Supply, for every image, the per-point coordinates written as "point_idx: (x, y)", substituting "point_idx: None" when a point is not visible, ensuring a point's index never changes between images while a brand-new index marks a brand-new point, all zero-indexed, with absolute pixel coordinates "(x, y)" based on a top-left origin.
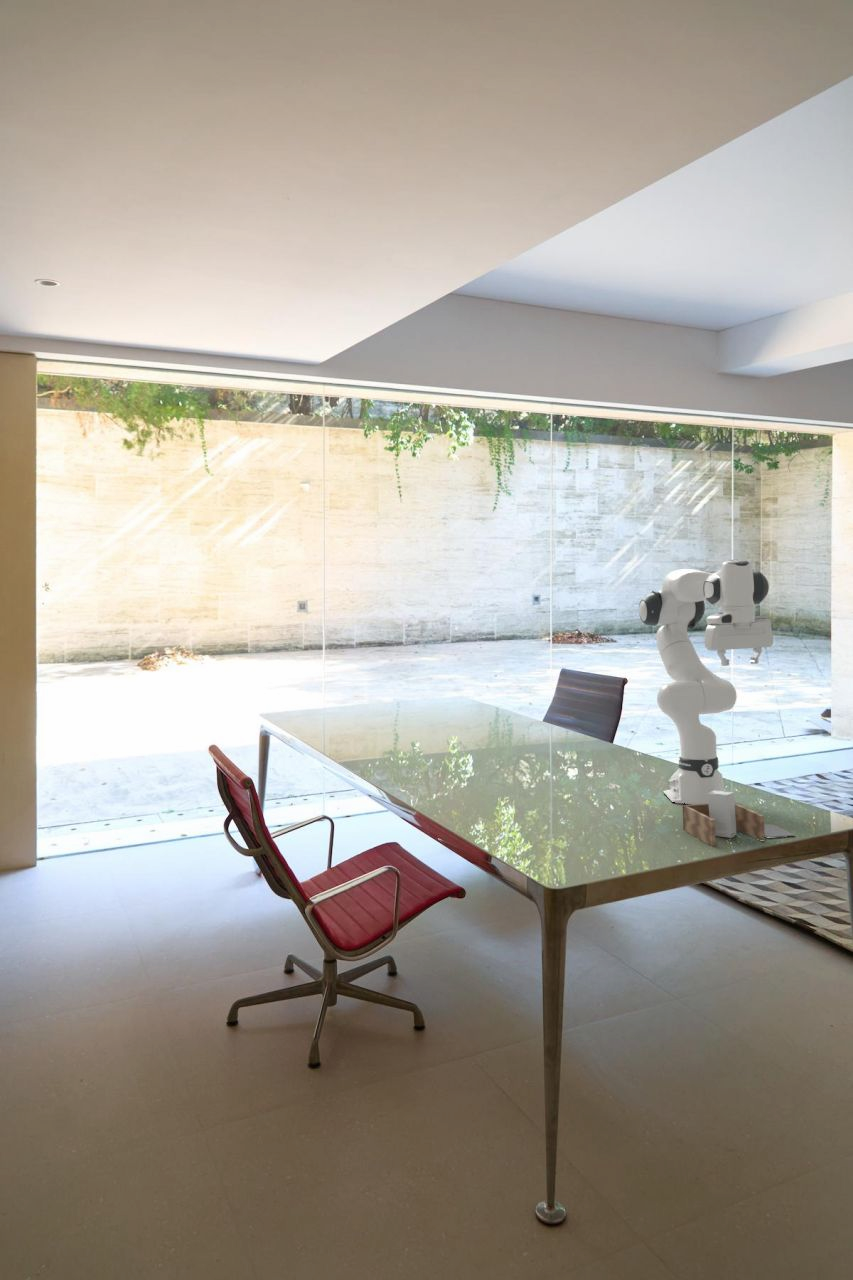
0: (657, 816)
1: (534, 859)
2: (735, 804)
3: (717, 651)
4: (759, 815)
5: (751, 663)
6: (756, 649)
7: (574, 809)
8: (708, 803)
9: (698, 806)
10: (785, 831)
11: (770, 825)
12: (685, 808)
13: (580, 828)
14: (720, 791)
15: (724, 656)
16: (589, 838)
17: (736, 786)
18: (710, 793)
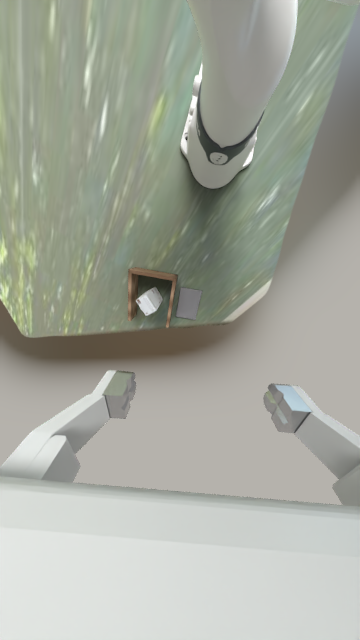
0: (135, 207)
1: (11, 286)
2: (171, 289)
3: (11, 456)
4: (166, 325)
5: (268, 386)
6: (353, 501)
7: (53, 104)
8: (153, 274)
9: (142, 274)
10: (195, 311)
11: (198, 293)
12: (128, 275)
13: (51, 215)
14: (147, 302)
15: (84, 439)
16: (55, 253)
17: (328, 72)
18: (137, 302)
